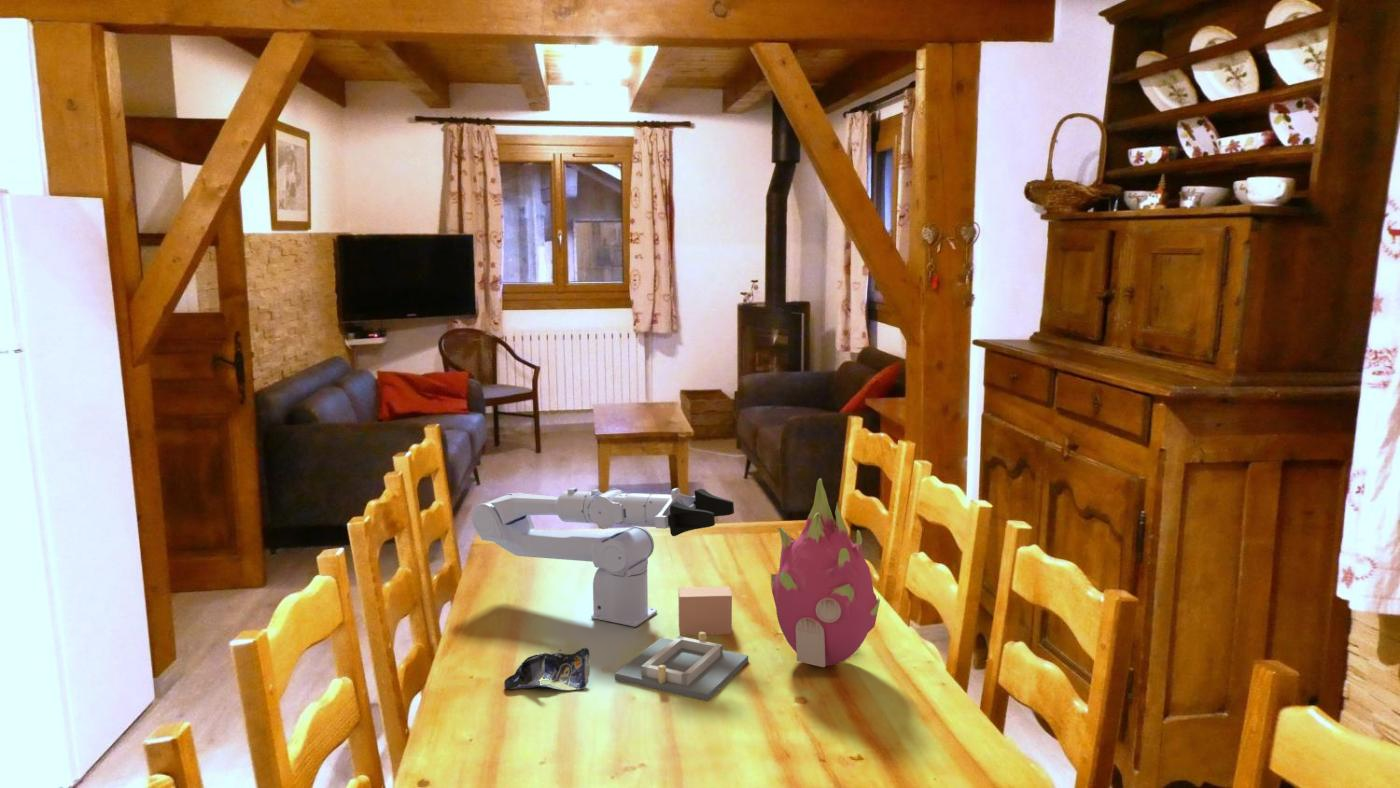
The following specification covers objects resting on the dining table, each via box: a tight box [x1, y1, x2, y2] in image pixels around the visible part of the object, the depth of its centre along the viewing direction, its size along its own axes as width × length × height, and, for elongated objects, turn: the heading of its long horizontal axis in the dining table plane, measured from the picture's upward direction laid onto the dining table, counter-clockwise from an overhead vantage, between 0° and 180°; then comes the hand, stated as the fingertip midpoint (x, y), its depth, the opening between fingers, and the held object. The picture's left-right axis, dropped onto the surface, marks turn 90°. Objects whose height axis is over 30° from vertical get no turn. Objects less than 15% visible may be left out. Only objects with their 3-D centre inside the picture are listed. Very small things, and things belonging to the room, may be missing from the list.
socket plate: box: [614, 632, 749, 702], centre depth 152 cm, size 16×15×4 cm
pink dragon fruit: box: [770, 477, 881, 668], centre depth 152 cm, size 18×14×30 cm
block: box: [677, 585, 733, 636], centre depth 168 cm, size 9×4×7 cm, turn 94°
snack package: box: [503, 647, 591, 691], centre depth 148 cm, size 12×7×12 cm
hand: (723, 513), depth 162 cm, fingers open, 7 cm apart
